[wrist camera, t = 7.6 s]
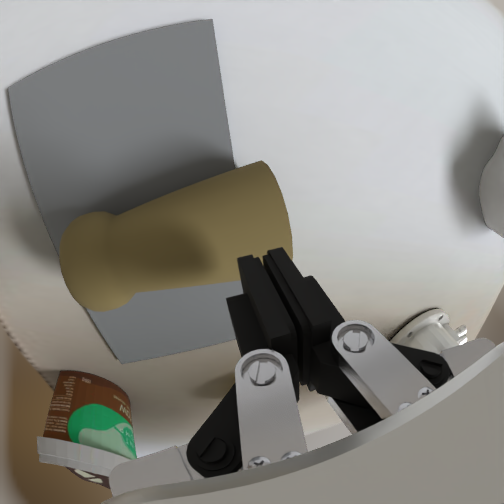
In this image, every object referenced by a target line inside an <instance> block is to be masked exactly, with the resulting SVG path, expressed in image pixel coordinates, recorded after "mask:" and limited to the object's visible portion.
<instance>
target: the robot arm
mask: <svg viewBox="0 0 504 504" xmlns="http://www.w3.org/2000/svg"><path fill="white" fill-rule="evenodd" d="M262 258H263V264H262V262H261V260H260V258H259V257H255V258H254V257H253V255H252V254H251V255H247V256H243V257H239V258H237V262H238V268H239V273H240V279H241V284H242V289H243V294H240V295H236V296H232V297H228V298H226V302H227V306H228V310H229V314H230V318H231V322H232V325H233V329H234V333H235V336H236V340H237V343H238V346H239V350H240V353H241V357H242V358H241V359H240V360H239V361H238V363H237V365H236V368H235V381H236V383H235V384H234V385H233V387H232V388H231V389H230V391H229V392H228V393H227V395H226V396H225V397H224V398H223V400H222V401H221V402H220V404H219V405H218V406H217V407H216V409H215V410H214V411H213V413H212V414H211V415H210V416H209V418H208V419H207V420H206V421H205V423H204V424H203V425H202V426H201V428H200V429H199V430H198V431H197V433H196V434H195V435H194V436H193V437H192V439H191V440H190V442H189V443H188V444H186V445H183V446H181V447H176V446H173V447H170V448H168V449H165V450H162V451H159V452H156V453H153V454H150V455H147V456H144V457H141V458H137V459H134V460H131V461H127V462H124V463H121V464H119V465H117V466H115V467H114V468H113V470H112V471H111V473H110V476H109V485H110V488H111V491H112V494H113V497H112V498H110V499H108V500H106V501H104V502H102V503H101V504H504V342H503V343H501V344H499V345H498V346H496V345H495V344H494V343H493V342H492V341H490V340H489V339H486V338H478V339H475V340H472V341H469V342H467V343H465V342H466V340H467V337H466V335H465V333H466V332H467V328H466V326H465V325H461V326H460V327H458V328H457V329H456V330H453V329H452V328H451V327H450V326H449V316H448V314H447V313H446V312H445V311H443V310H442V309H433V310H430V311H427V312H425V313H423V314H421V315H420V316H418V317H417V318H415V319H414V320H412V321H411V322H410V323H408V324H407V325H406V326H405V327H404V328H403V329H401V330H400V331H399V332H398V333H397V334H396V335H395V336H394V337H393V338H392V339H391V340H390V342H389V341H388V340H387V339H386V338H385V337H384V336H383V335H382V334H381V333H380V332H379V331H378V330H377V329H376V328H375V327H373V326H372V325H371V324H369V323H367V322H364V321H359V320H351V321H346V322H345V320H344V319H343V317H342V316H341V315H340V313H339V312H338V310H337V309H336V308H335V306H334V305H333V303H332V302H331V300H330V299H329V298H328V296H327V295H326V293H325V292H324V291H323V289H322V288H321V287H320V285H319V284H318V282H317V281H316V280H315V278H314V277H313V276H307V277H304V278H303V276H302V275H301V273H300V272H299V270H298V269H297V267H296V266H295V264H294V263H293V262H292V260H291V259H290V257H289V256H288V254H287V253H286V251H285V250H284V248H283V247H280V248H276V249H271V250H267V255H264V256H263V257H262ZM299 381H300V383H301V385H302V386H303V385H305V384H307V386H308V388H309V390H310V391H313V390H316V391H317V393H319V394H322V395H325V397H326V399H327V401H328V403H329V404H330V405H331V407H332V408H333V409H334V411H335V412H336V414H337V415H338V416H339V418H340V419H341V420H342V422H343V423H344V424H345V426H346V427H347V428H348V430H349V431H350V432H351V434H352V435H351V436H348V437H346V438H343V439H341V440H339V441H336V442H334V443H331V444H328V445H326V446H324V447H321V448H318V449H315V450H312V451H310V452H308V451H307V446H306V442H305V437H304V432H303V428H302V423H301V419H300V414H299V410H298V405H297V402H298V401H299Z"/></svg>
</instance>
